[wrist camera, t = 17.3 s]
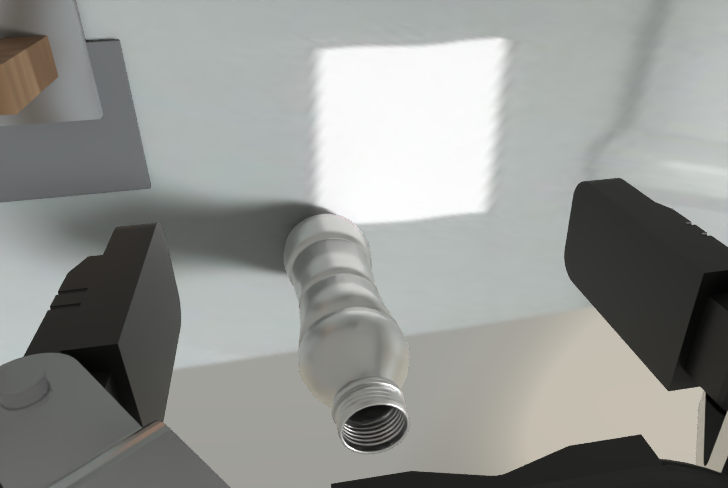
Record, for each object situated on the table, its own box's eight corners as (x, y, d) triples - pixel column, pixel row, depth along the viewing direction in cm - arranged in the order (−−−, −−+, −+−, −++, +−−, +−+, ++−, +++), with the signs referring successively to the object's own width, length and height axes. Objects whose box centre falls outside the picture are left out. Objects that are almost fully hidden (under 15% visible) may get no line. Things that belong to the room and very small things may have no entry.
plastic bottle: (343, 285, 49) (403, 483, 32) (267, 261, 46) (287, 461, 29) (377, 220, 46) (462, 397, 29) (300, 191, 44) (343, 365, 27)
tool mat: (119, 39, 37) (118, 40, 36) (151, 186, 42) (150, 188, 41) (-55, 48, 35) (-58, 50, 35) (-1, 200, 40) (-3, 202, 40)
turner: (71, -19, 34) (24, -1, 27) (103, 114, 38) (70, 163, 30) (-41, -15, 33) (-123, 4, 26) (4, 121, 37) (-55, 174, 30)
